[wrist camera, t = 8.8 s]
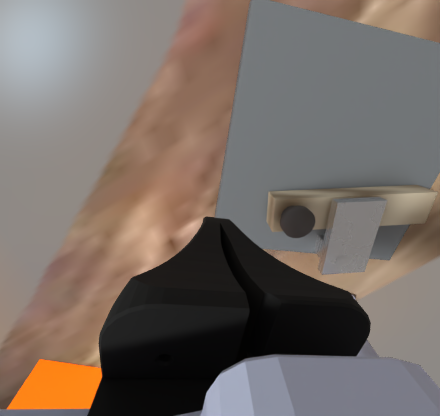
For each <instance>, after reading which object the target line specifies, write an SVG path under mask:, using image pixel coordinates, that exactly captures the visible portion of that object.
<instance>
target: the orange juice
mask: <svg viewBox="0 0 440 416" xmlns="http://www.w3.org/2000/svg"><path fill="white" fill-rule="evenodd" d="M101 378H102V372H101V368H95V367H89V366H82V365H75V364H69V363H62V362H55V361H49V360H42V359H40V360H39V361H38V363H37V364H36V366H35V367H34V369H33V370H32V372H31V373H30V375H29V376H28V378H27V379H26V381H25V383H24V384H23V386H22V387H21V389H20V390H19V392H18V393H17V395H16V396H15V398H14V399H13V401H12V402H11V404H10V405H9V407H8V408H7V409H90V407H91V404H92V402H93V399H94V396H95V394H96V391H97V389H98V386H99V383H100V381H101Z"/></svg>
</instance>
